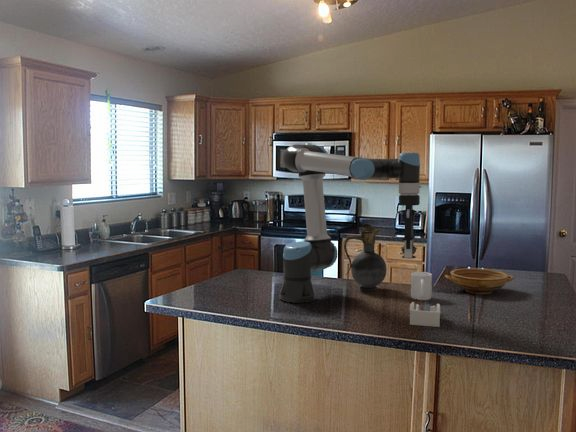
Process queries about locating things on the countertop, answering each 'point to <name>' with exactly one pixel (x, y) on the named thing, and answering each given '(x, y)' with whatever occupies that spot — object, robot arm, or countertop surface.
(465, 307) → the countertop surface
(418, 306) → the clip
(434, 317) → the end holder
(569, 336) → the countertop surface
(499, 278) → the ceramic bowl
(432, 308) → the clip
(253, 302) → the countertop surface
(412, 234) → the grey tapered rounded piece
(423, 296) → the mug
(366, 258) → the pitcher
